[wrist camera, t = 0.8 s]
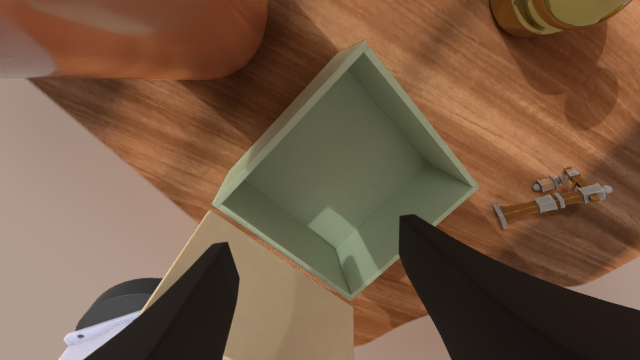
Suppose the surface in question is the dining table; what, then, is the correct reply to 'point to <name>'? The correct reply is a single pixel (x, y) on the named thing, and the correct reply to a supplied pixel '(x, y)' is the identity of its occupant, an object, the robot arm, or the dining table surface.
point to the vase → (129, 38)
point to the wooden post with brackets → (553, 197)
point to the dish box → (345, 174)
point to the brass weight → (552, 15)
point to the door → (270, 301)
